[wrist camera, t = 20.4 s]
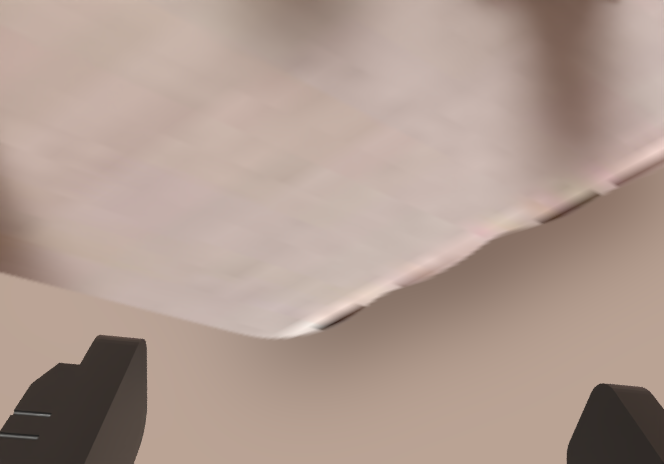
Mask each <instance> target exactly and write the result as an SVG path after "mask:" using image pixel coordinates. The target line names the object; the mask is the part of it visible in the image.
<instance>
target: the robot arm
mask: <svg viewBox="0 0 664 464" xmlns="http://www.w3.org/2000/svg"><path fill="white" fill-rule="evenodd" d="M146 413H147V347H146V341H145V340H144V339H137V338H127V337H117V336H105V335H99V336H97V337H96V338H95V340H94V341H93V343H92V345H91V347H90V348H89V350H88V352H87V353H86V355H85V357H84V359H83V360H82V362H81V364H80V365H76V364H64V363H59V364H57V365H56V366H55V367H53V368H52V369H51V370H49V371H48V372H47V373H45V374H44V375H43V376H41V377H40V378H39V379H37V380H36V381H35V382H33V383H32V384H31V386H30V387H29V389H28V390H27V391H26V393H25V394H24V396H23V398H22V399H21V400H20V402H19V403H18V405H17V406H16V408H15V410H14V414H13V415H10V417H9V419H8V420H7V421H6V423H5V425H4V426H3V428H2V429H1V431H0V464H134V461H135V458H136V456H137V453H138V450H139V447H140V444H141V441H142V436H143V433H144V427H145V422H146ZM567 464H664V409H663V408H662V406H661V405H660V404H659V403H658V401H657V400H656V399H655V397H654V396H653V395H652V394H651V392H650V391H648V390H647V389H645V388H643V387H635V386H625V385H614V384H599V385H597V386H596V387H595V388H594V389H593V391H592V392H591V395H590V397H589V399H588V401H587V404H586V406H585V408H584V411H583V413H582V415H581V417H580V419H579V422H578V424H577V427H576V429H575V431H574V433H573V436H572V438H571V440H570V442H569V445H568V449H567Z"/></svg>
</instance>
